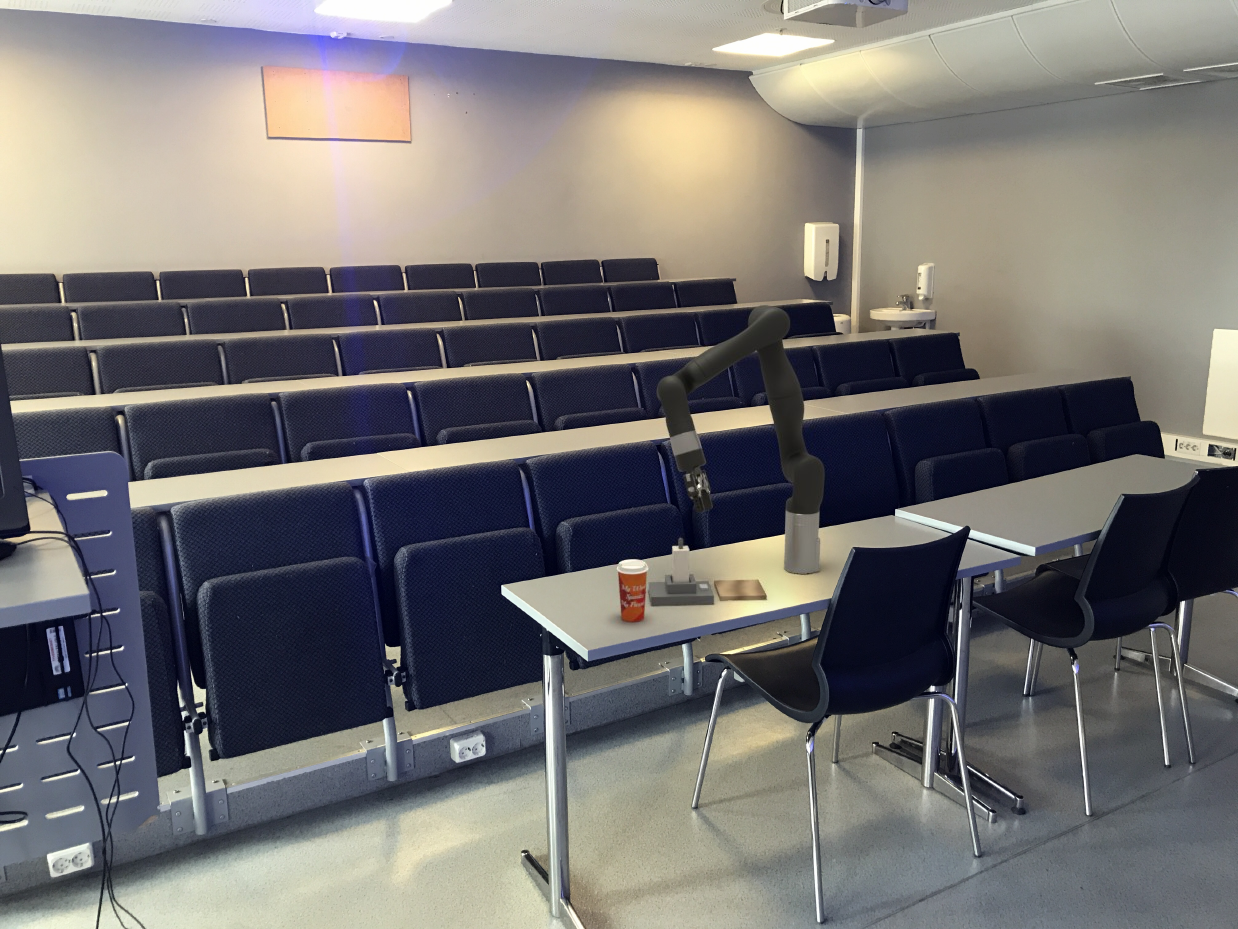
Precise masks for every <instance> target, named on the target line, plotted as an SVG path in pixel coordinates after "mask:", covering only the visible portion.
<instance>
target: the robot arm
mask: <svg viewBox="0 0 1238 929" xmlns="http://www.w3.org/2000/svg"><path fill="white" fill-rule="evenodd" d="M747 321H748V322H747V325H748V326H747V328H745V329H744V330H743V331H741V332H739V334H737V335H735V336H733V337H731V338H729V339H727V340H725V341H723V342H721V343H718V344H716V345H714V346H712V347H710V348H708V349H707V350H705V351H703V352H701V353H699V355H697V356H696V357H694V358H693V359H691V360H690V361H689V362H687V363H686V364H685V365H684V367H682V368H681V369H680V370H677V371H676V372H675V373H673V374H672V375H668V376H665V377H663V378H661V379H660V380H659V382H658V384H657V387H656V396H657V399H658V400H659V402H660V403H661V406H662V410H663V413H664V417H665V425H666V429H667V432H668V436H669V439H670V444H671V445H670V446H671V449H672V454H673V456H674V459H675V463H676V464H675V465H676V467H677V470H678V472H682V473H683V472H686V474H682V477H683V481H684V485H685V489H686V492H687V496H688V498H690V499H691V500H692V502H693V505H694V510H695V512H696V513H697V514H699V513H702V512H705V510H707V511H708V510H710V509H713V507H714V506H713V502H712V499H711V496H710V494H711V492H712V491H711V490H712V489H711V485H710V482H709V479H708V476H707V474H706V470H705V469H703V470H701V467H702V466H705V465H707V460H706V458H705V454H704V451H703V448H702V445H701V440H700V437H699V434H698V433H697V430H696V427H695V426H696V425H695V424H694V420H693V416H692V415H691V411H690V407H689V401H688V397H687V396H688V395H690V394H691V393H692V392H694V391H695V390H696V389H697V388H699V387H701V386H703V385H704V384H707V382H709V381H711V380H712V379H714V378H715V377H716V376H718V375H719V374H720V373H722V372H724V371H725V370H727V369H728V368H730V367H732V366H733V365H734V364H736V363H738V362H739V361H741V360H743V359H744V358H747V357H748V356H750V355H752V354H753V353H755V352H756V353H757V356H758V360H759V363H760V369H761V375H762V379H763V383H764V387H765V394H766V398H767V402H768V406H769V409H770V413H771V418H772V421H773V426H774V429H775V435H776V437H777V438H776V439H777V442H778V448H779V457H780V464H781V470H782V473H783V476H784V477H785V479H786V480H787V481H788V482H789V483H791V484H793V486H792V496H791V497H789V498H788V499H787V500H786V501H785V522H784V523H785V525H784V526H785V527H784V530H785V531H784V555H783V556H784V557H783V558H784V559H783V568H784V570H785V571H786V572H789V573H792V574H797V573H798V574H799V575H806V574H807V573H809V574H813V573H820V561H821V558H820V557H821V556H820V555H821V538H820V537H819V531H820V527H819V526H820V509H821V508H820V506H821V504H822V502H823V498H824V490H825V489H824V486H825V478H826V477H825V476H826V475H825V474H826V473H825V466H824V464H823V462H822V461H821V459H819V458H818V457H817V456H814V455H812V454H809V452H808V450H807V447H806V444H805V443H806V442H805V440H804V436H803V423H804V418H805V417H804V416H805V402H804V397H803V393H802V389H801V385H800V382H799V380H798V377H797V375H796V373H795V370H794V369H793V366H792V364H791V362H790V360H789V359H788V356H787V354H786V351H785V346H784V342H783V338H785V337H786V335H787V334H788V333H789V331H790V328H791V320H790V317H789V314H788V313H787V311H785V310H783V309H782V308H779V307H776V306H772V305H768V304H762V305H758V306H756V307H754V309H752V311H751V312H750V313H749V317H748V320H747ZM807 575H808V574H807Z"/></svg>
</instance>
